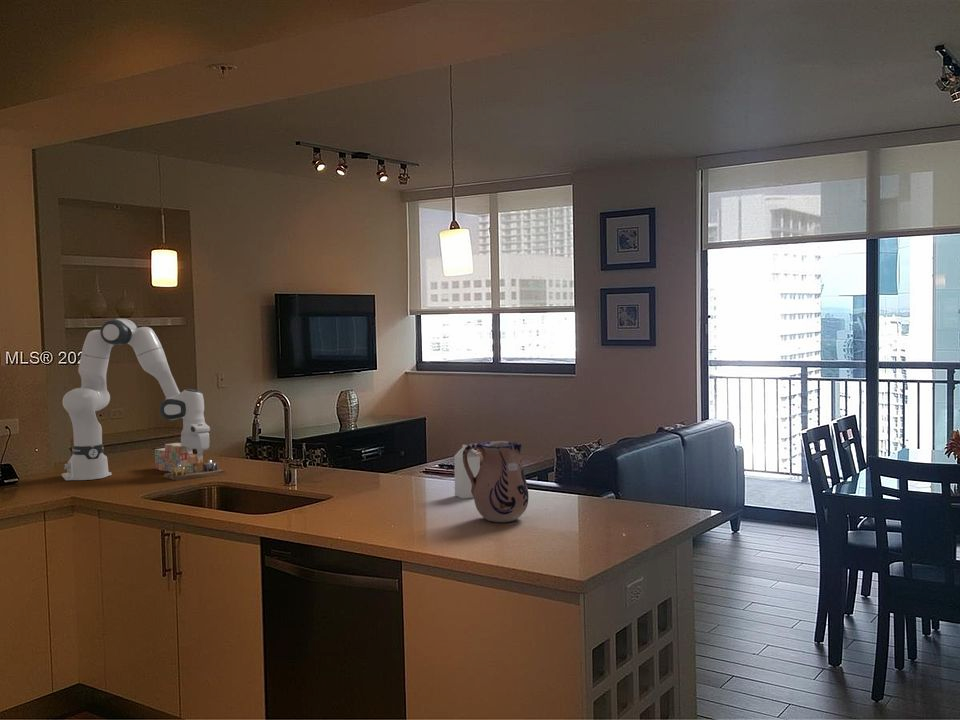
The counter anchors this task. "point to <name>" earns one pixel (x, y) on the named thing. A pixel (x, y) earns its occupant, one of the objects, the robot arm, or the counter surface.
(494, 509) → the ceramic pitcher
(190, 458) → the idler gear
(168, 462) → the stack of blocks
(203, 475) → the gear board
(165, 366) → the robot arm
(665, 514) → the counter surface
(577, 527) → the counter surface
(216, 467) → the drive gears
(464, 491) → the milk carton
